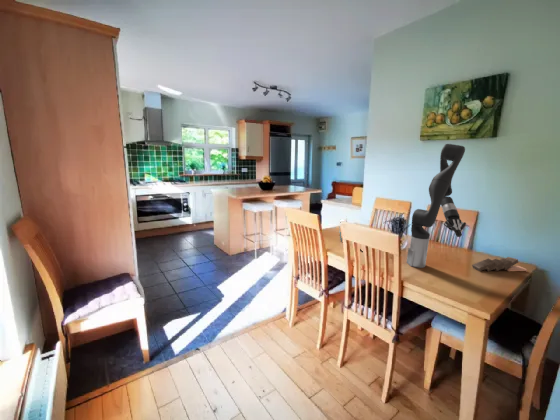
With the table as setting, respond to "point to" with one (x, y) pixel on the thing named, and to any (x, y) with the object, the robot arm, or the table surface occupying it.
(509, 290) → the table surface
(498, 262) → the domino
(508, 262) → the domino
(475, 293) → the table surface
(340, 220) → the ink box
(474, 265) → the domino
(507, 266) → the domino
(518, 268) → the domino
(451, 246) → the table surface
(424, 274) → the table surface
